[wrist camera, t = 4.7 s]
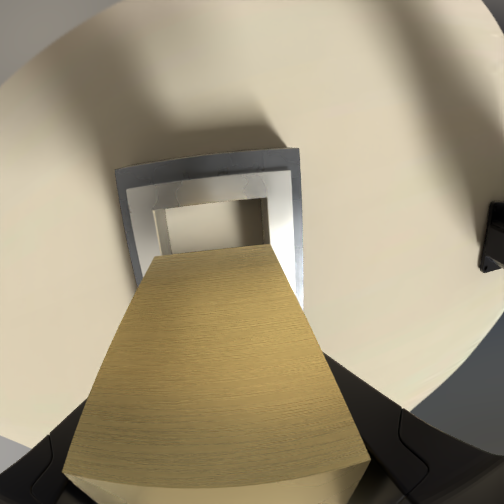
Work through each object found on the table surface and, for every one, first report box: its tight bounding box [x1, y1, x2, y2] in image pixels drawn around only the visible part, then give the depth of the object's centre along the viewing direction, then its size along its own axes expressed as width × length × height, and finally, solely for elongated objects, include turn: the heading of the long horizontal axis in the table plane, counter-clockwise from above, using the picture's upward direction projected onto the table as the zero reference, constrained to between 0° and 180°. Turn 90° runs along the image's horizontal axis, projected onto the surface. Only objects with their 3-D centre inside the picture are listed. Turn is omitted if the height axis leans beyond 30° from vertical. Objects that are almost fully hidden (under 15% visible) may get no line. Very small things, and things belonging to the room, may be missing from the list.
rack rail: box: [115, 148, 303, 310], centre depth 19 cm, size 9×26×3 cm, turn 4°
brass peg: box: [62, 244, 371, 504], centre depth 7 cm, size 4×4×8 cm
